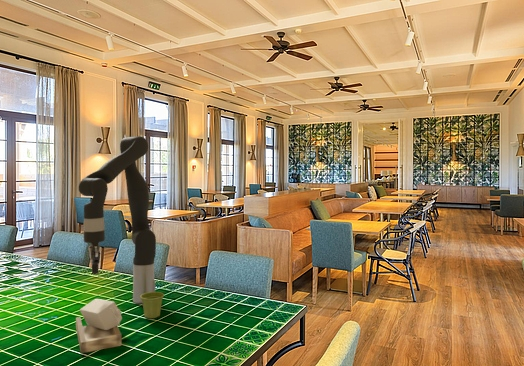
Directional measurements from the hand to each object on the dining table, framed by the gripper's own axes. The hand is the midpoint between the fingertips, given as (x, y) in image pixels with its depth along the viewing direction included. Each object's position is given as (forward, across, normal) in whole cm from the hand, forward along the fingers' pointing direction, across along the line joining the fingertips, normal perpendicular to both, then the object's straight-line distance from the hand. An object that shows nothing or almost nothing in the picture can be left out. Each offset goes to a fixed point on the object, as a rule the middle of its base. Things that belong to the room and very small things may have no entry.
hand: (95, 273), depth 152 cm
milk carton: (+14, -1, +2) cm, 15 cm away
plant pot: (+20, -4, -21) cm, 29 cm away
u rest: (+19, -13, +1) cm, 24 cm away
